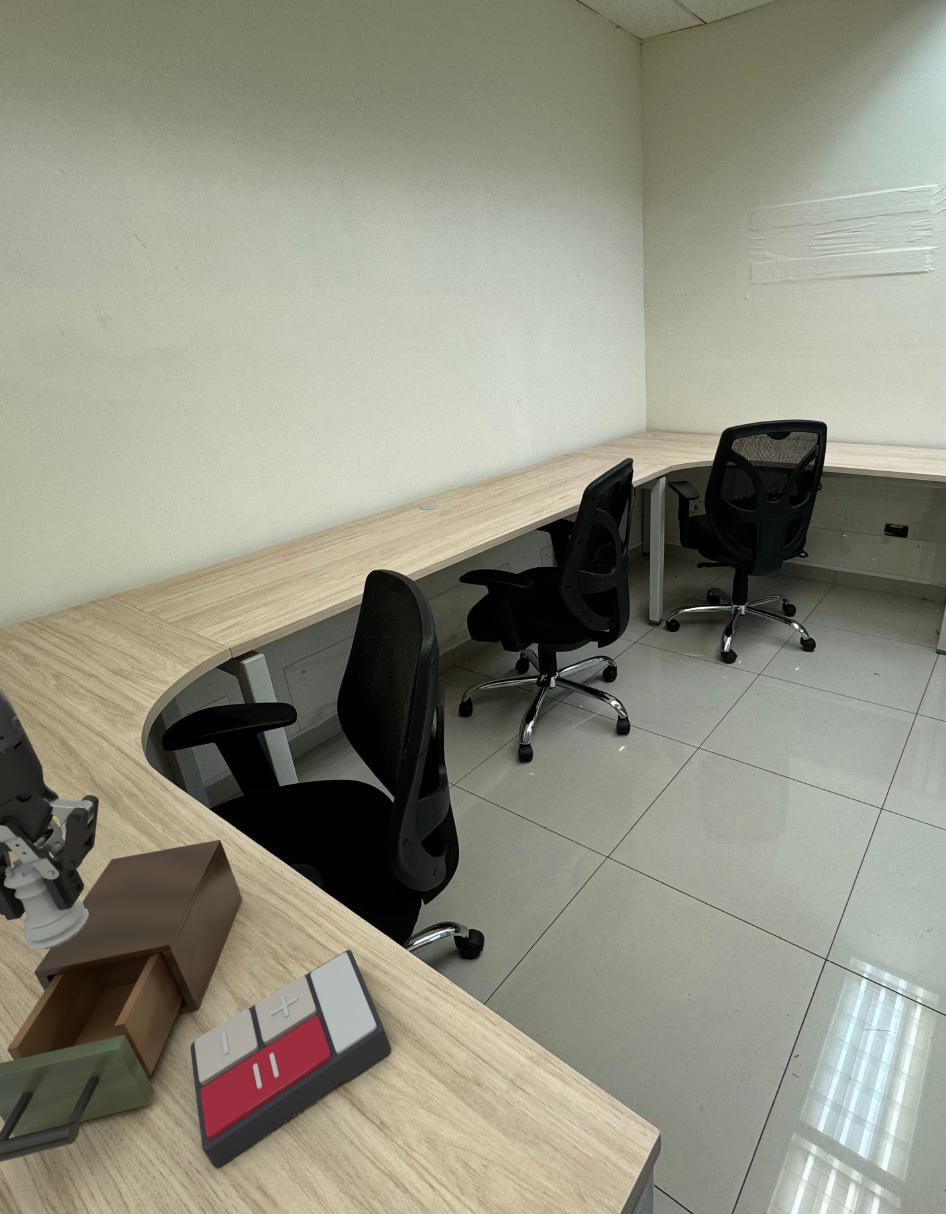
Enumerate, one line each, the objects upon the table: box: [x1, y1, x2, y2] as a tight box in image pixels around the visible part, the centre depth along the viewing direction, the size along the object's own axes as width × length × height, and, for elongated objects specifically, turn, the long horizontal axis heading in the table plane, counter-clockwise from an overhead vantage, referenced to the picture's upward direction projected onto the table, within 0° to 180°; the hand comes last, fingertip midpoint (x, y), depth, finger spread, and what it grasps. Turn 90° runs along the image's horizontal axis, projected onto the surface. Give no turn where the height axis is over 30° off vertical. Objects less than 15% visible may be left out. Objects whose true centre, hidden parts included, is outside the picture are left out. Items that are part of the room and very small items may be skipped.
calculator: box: [190, 949, 392, 1169], centre depth 59 cm, size 11×4×15 cm
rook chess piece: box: [4, 858, 89, 950], centre depth 55 cm, size 4×4×8 cm
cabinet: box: [33, 839, 243, 1016], centre depth 68 cm, size 15×12×10 cm
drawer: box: [0, 952, 184, 1163], centre depth 57 cm, size 18×10×8 cm, turn 13°
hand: (46, 906), depth 55 cm, fingers closed on rook chess piece, 3 cm apart
